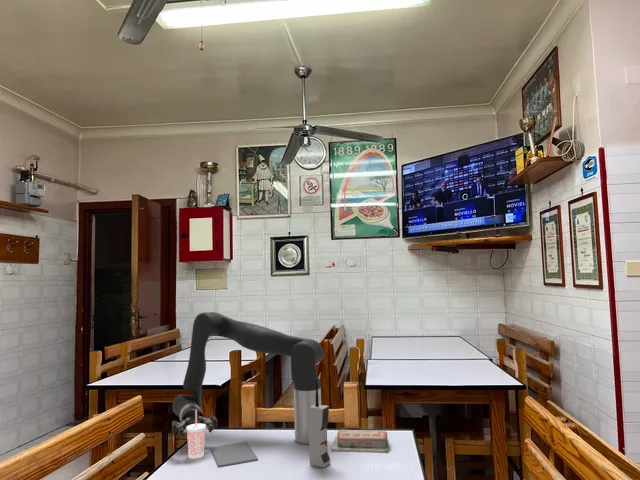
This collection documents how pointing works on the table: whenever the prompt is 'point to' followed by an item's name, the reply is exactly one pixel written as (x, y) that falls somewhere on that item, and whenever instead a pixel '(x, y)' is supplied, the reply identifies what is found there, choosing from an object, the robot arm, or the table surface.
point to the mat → (233, 454)
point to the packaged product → (361, 441)
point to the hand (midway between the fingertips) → (196, 431)
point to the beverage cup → (196, 439)
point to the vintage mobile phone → (318, 433)
